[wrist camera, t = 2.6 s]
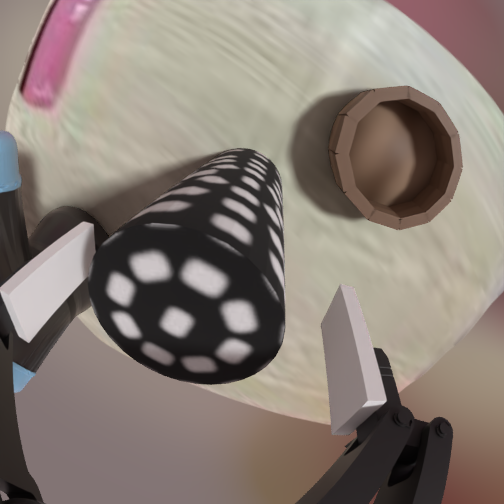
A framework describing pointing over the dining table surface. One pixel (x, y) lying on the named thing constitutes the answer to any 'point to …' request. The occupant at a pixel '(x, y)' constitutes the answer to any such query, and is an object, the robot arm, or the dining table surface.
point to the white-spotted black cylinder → (199, 274)
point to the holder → (396, 156)
